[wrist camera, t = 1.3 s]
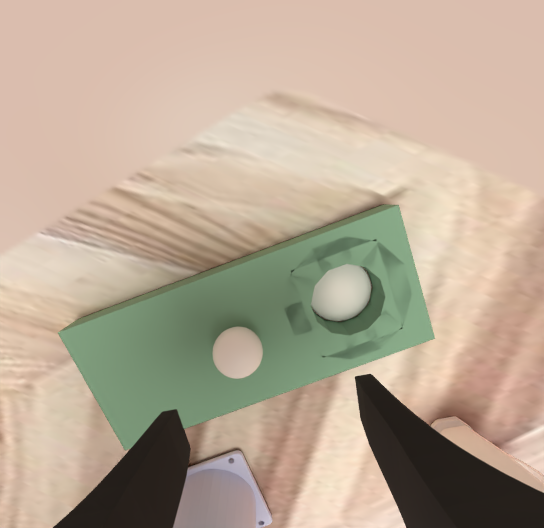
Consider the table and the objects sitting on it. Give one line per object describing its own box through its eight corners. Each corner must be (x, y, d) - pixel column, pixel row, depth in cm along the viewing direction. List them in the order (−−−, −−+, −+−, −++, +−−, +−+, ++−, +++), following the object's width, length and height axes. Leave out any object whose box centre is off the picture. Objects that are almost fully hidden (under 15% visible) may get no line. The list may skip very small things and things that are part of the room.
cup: (422, 395, 25) (496, 483, 18) (528, 415, 26) (644, 507, 19) (396, 464, 27) (454, 575, 19) (498, 482, 28) (594, 593, 20)
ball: (226, 368, 21) (221, 396, 18) (208, 328, 21) (200, 351, 18) (269, 352, 21) (270, 378, 18) (252, 312, 21) (251, 332, 18)
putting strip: (137, 426, 25) (125, 450, 22) (78, 318, 23) (57, 332, 20) (417, 325, 24) (434, 338, 22) (383, 204, 22) (398, 205, 20)
